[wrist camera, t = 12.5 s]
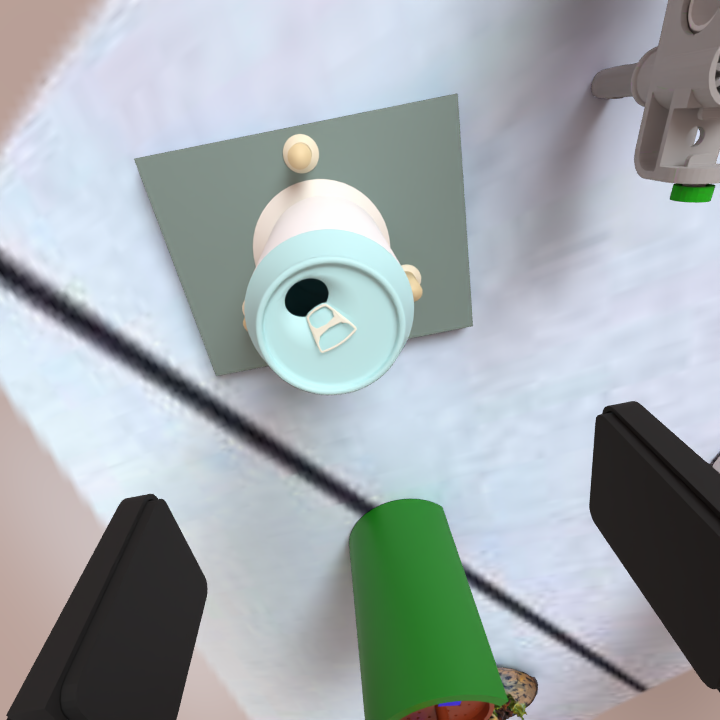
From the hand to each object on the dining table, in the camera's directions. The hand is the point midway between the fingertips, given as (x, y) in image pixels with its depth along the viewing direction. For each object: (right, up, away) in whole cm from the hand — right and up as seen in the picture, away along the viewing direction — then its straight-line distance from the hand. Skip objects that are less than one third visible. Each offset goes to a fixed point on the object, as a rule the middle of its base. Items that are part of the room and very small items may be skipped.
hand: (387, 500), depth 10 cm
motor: (+3, -14, +33) cm, 36 cm away
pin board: (-3, +10, +19) cm, 22 cm away
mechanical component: (+14, +19, +17) cm, 29 cm away
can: (-3, +10, +18) cm, 21 cm away
